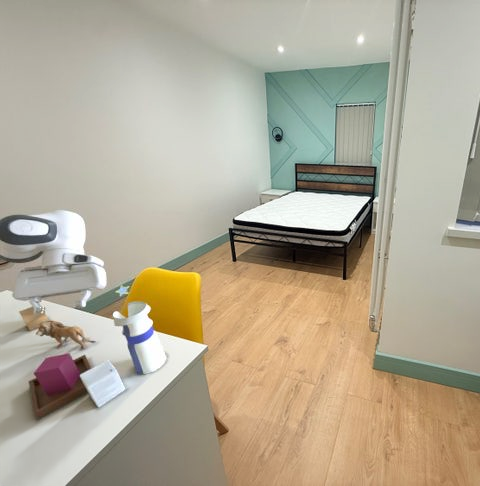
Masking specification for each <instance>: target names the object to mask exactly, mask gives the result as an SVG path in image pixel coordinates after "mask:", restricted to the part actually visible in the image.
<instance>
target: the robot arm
mask: <svg viewBox="0 0 480 486" xmlns="http://www.w3.org/2000/svg"><path fill="white" fill-rule="evenodd" d="M86 235H87V232H86V223H85V220H84V218H83V217H82V216H81V215H80V214H78V213H76V212H73V211H72V210H71V211H70V210H67V209H52V210H51V211H49V212H45V213H39V214H12V215H8V216H4V217H2V218H1V219H0V259H1V260H3V261H5V262H8V263H12V264H26V263H30V262H33V261H35V260H38V259H39V258H41V257H42V258H41V265H38V266H30V267H25V268H24V269H22V270H20V271H19V272H18V273H17V274H16V275H17V276H16V281H15V284H14V285H13V290H12V298H13V299H14V300H16V301H21V302H22V301H24V302H26V301H27V302H28V303H29V305H31V307H33V308H34V312H33V313H34V314H36V315H38V314H44V313H45V314H46V307H45V306H42V305H41V302H42V300H43V299H47V298H52V297H60V296H66V295H72V294H73V295H74V294H79V293H80V295H82V296H81V297H80V299H79V300H76V301H75V308H76V309H77V308H78V309H80V308H85V307H86V306H87V301H88V300H89V298H90V297H91V295H92V292H93V291H101V290H104V289H105V287H106V286H107V280H108V279H107V272H106V270H105V268H104V265H105V262H104V260H102V259H100V258H99V257H97V256H94V255H91V254H85V253H86V252H85V249H84V245H85V243H86Z"/></svg>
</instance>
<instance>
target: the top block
mask: <svg viewBox="0 0 480 486" xmlns="http://www.w3.org/2000/svg"><path fill="white" fill-rule="evenodd" d="M73 360H74V359H73V357H72V355H71V353H70V352H67V353H63V354H57V355H52V356H48V357H45V358H44V359H43V361H42V362H41V363H40V365H39V366H37V368H36V369H35V371H34V372H33V375H34V376H35V378H37V380H38V381H39V383H40V384H41V386H42V387H43V389H44V391H45V392H46V394H47V395H52V394H57V393H61V392H65V391H69V390H72V388H73V387H74V385H75V383H76V382H77V380H78V378H79V377H80V375H81V374H80V372H79V370H78V368H77V366H76V364H75V363H74V361H73Z"/></svg>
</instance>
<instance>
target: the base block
mask: <svg viewBox="0 0 480 486" xmlns="http://www.w3.org/2000/svg"><path fill="white" fill-rule="evenodd" d="M33 312H34V308H33V307H32V306H30V307H28V308H24V309H22V310H19V311H18V313H19V315H20V317H21V319H22V320H23V322H24V323H25V325H26V326H27V328H28V330H29V331H33V330H36V329H38V328H39V327H40V325H39V324H40V323H41V322H44V321H50V320H49V318H48V316H47V314H46V312H45V313H44V314H38V315H36V314H34V313H33Z"/></svg>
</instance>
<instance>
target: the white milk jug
mask: <svg viewBox="0 0 480 486" xmlns="http://www.w3.org/2000/svg"><path fill="white" fill-rule="evenodd" d="M129 288H130V286H129V285H127V286H124V285H122V284H121V285H120V286H119V289H117V290H115V291H114V293H117V294H119V298H120V297H122V296H124V295H128V294H129V293H130V292H128V289H129ZM151 309H152V308H151V306H150V305H148V303H146V302H145V301H141V300H139V301H137V300H136V301H131V302H128V303H127V315H128V317H127V316H125V315H123V314H121V313H120V312H119V311H118V310H117V311H116V310H115V311H114V312H113V313H112V320H113V323H114V326H115V327H122V330H121V334H122V335H123V336H124V337H125V340H126V347H127V350H128V352H129V355H130V357H131V361H132V364H133V366H134V370H135V372H136V373H137V374H139V375H146V374H151V373H152V372H156V371H157V370H159V369H160V368H161V367H162V366H163V365H164V364H165V362H166V360H167V355H166V353H165V351H164V349H163V346H162V344H161V341H160V339H159V336H158V334H157V331H155V330H154V327H153V323H154V322H153V320H152V319H151V318H149V316H148V314H149V313H150V312H151Z"/></svg>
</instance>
